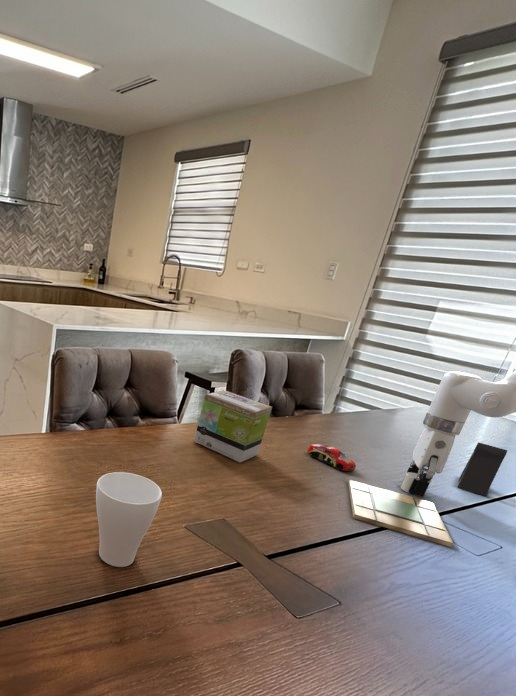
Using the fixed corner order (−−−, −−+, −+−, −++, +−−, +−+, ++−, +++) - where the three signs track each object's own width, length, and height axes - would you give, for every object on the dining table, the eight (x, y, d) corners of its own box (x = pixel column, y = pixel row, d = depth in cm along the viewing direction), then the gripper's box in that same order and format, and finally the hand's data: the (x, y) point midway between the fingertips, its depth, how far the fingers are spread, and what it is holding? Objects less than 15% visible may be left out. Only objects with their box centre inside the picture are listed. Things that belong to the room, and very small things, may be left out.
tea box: (192, 442, 133) (204, 393, 127) (210, 436, 139) (223, 388, 134) (240, 463, 123) (256, 411, 117) (258, 455, 130) (273, 405, 124)
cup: (155, 576, 77) (172, 505, 71) (93, 577, 75) (105, 504, 69) (136, 537, 86) (150, 472, 81) (80, 537, 84) (90, 471, 79)
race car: (358, 472, 127) (363, 459, 126) (345, 474, 125) (350, 461, 123) (316, 451, 138) (320, 439, 136) (303, 453, 135) (308, 440, 134)
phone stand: (459, 478, 132) (478, 438, 127) (486, 486, 128) (507, 446, 124) (456, 487, 125) (477, 446, 121) (485, 496, 122) (507, 455, 117)
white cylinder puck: (421, 489, 121) (427, 476, 120) (425, 497, 117) (431, 483, 115) (399, 483, 123) (405, 470, 121) (402, 491, 119) (408, 477, 117)
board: (431, 506, 113) (433, 501, 112) (451, 547, 96) (454, 542, 96) (348, 483, 120) (349, 479, 119) (353, 518, 103) (355, 513, 102)
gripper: (471, 439, 104) (437, 507, 111) (452, 418, 119) (423, 480, 126) (431, 430, 107) (400, 497, 114) (417, 410, 121) (391, 471, 128)
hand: (413, 488), depth 120 cm, fingers open, 6 cm apart
